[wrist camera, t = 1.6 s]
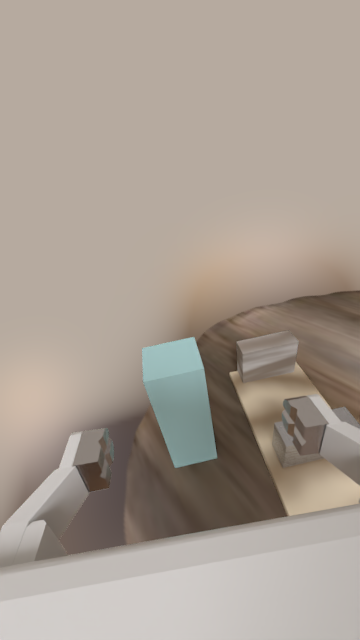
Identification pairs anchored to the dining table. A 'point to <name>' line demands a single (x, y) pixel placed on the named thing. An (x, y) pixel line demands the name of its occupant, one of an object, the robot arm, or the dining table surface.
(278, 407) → the vise base
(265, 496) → the dining table surface
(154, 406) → the teal block
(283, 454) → the block
